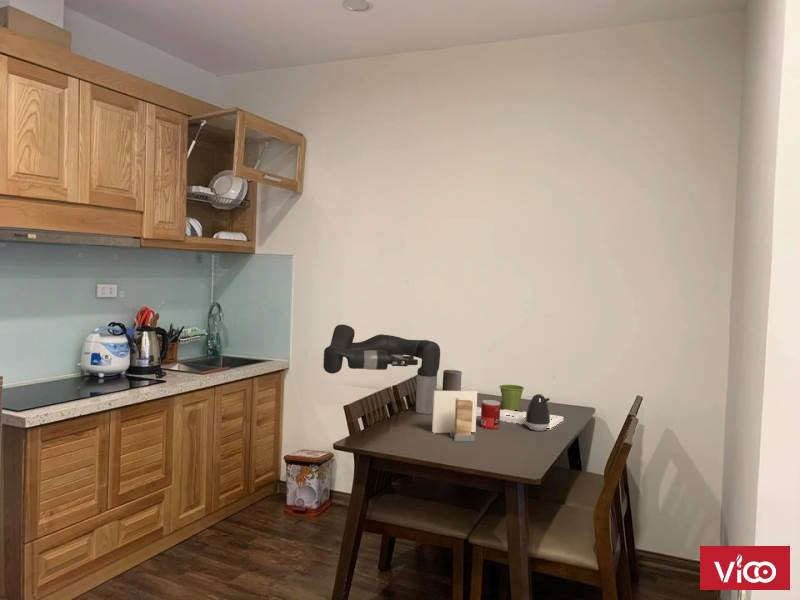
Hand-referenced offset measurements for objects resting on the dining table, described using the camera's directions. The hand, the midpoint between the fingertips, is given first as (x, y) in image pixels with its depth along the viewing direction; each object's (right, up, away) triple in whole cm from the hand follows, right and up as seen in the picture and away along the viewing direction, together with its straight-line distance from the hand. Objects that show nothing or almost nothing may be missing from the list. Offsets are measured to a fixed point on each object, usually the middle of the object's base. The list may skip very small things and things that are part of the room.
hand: (415, 360), depth 244 cm
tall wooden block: (+19, -31, 0) cm, 36 cm away
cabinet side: (+17, -31, +3) cm, 35 cm away
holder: (+44, -31, +40) cm, 67 cm away
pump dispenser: (+52, -31, +19) cm, 64 cm away
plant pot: (+47, -29, +55) cm, 78 cm away
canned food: (+32, -31, +20) cm, 49 cm away
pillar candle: (+21, -27, +79) cm, 86 cm away
